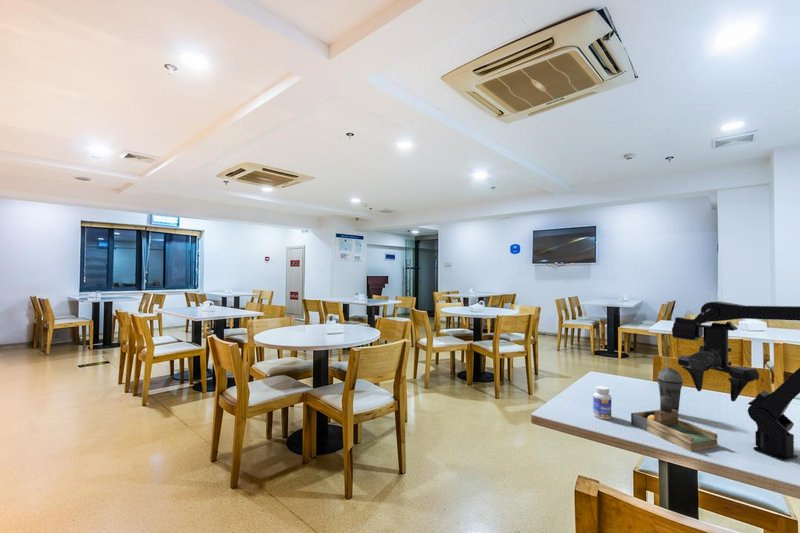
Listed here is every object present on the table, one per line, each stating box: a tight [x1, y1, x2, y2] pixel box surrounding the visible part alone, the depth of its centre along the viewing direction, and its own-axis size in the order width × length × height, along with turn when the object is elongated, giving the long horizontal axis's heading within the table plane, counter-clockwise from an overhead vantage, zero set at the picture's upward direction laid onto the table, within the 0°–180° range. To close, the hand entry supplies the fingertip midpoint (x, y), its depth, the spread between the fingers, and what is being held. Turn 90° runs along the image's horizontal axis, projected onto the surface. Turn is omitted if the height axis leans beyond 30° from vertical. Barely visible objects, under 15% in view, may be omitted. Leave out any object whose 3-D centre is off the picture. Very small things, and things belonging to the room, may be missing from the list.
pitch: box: [646, 418, 718, 452], centre depth 108 cm, size 13×10×4 cm
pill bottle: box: [592, 385, 612, 420], centre depth 125 cm, size 5×5×10 cm
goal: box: [630, 409, 657, 432], centre depth 117 cm, size 6×10×4 cm, turn 106°
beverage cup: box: [657, 355, 684, 412], centre depth 128 cm, size 7×7×20 cm
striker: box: [654, 395, 679, 426], centre depth 112 cm, size 3×7×8 cm, turn 107°
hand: (715, 395), depth 110 cm, fingers open, 9 cm apart
